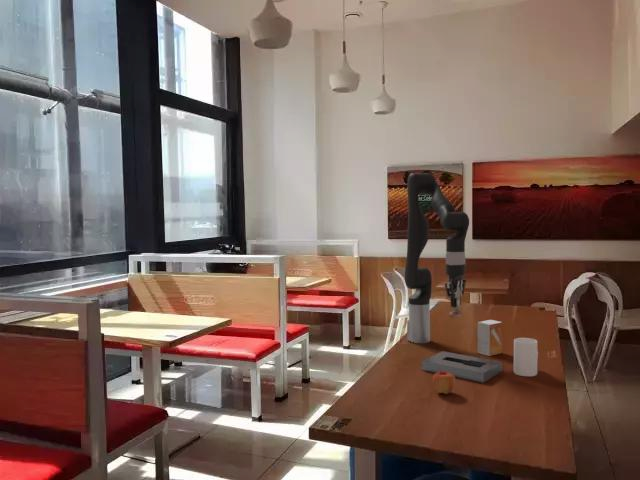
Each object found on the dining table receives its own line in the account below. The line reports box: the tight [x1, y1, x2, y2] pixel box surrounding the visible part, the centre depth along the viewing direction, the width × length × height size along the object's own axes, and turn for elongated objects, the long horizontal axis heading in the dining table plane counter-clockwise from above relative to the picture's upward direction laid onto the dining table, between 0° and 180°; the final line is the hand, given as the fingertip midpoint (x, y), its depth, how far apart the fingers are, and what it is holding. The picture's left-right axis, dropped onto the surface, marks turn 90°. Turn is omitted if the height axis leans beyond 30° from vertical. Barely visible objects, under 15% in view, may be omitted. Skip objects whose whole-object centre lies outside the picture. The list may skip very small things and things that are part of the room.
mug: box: [513, 337, 539, 377], centre depth 195 cm, size 8×12×12 cm
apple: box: [432, 368, 457, 395], centre depth 174 cm, size 7×7×8 cm
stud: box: [449, 286, 464, 319], centre depth 211 cm, size 5×5×12 cm
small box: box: [477, 319, 503, 357], centre depth 219 cm, size 8×6×13 cm
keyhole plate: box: [421, 350, 503, 384], centre depth 197 cm, size 24×16×4 cm, turn 49°
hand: (455, 306), depth 211 cm, fingers closed on stud, 3 cm apart
